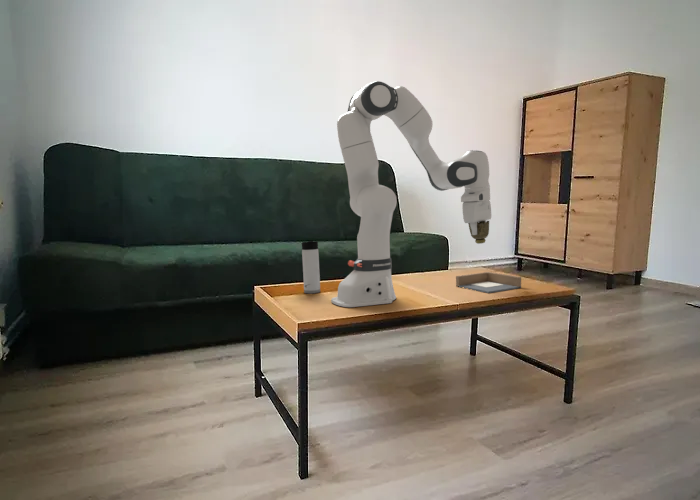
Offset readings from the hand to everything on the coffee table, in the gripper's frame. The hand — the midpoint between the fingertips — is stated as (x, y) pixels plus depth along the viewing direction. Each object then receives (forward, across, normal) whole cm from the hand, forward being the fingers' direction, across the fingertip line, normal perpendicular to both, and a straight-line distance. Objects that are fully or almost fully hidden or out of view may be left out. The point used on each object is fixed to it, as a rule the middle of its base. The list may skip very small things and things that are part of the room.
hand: (478, 233), depth 168 cm
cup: (+4, 0, 0) cm, 4 cm away
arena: (+20, -3, +2) cm, 21 cm away
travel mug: (+19, +31, -55) cm, 66 cm away
